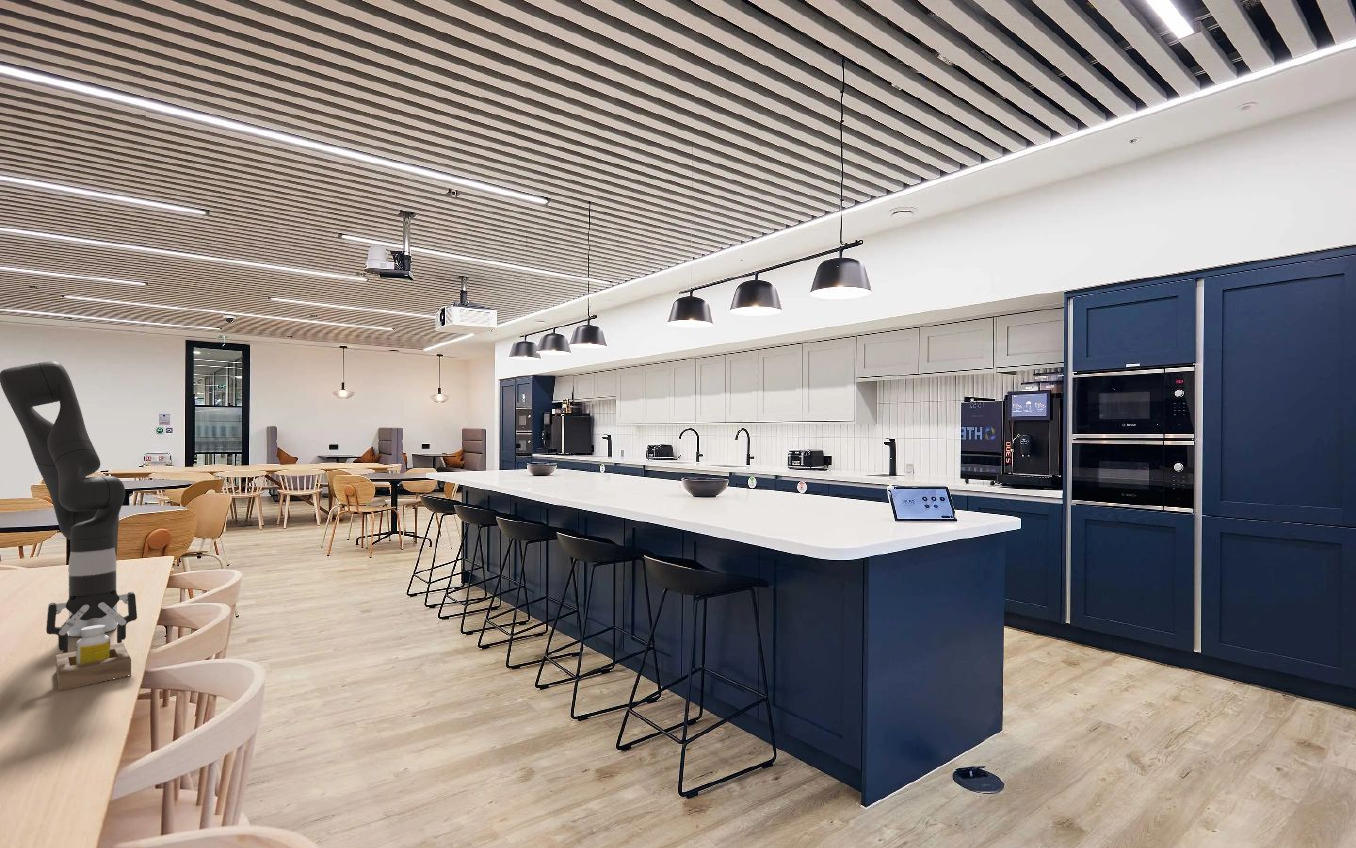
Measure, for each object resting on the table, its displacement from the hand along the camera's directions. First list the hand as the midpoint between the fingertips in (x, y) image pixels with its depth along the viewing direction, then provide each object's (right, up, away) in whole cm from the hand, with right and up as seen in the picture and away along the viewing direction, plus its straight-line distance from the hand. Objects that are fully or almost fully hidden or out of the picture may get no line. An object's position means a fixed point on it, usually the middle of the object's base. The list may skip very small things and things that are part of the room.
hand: (93, 647), depth 138 cm
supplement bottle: (0, -6, 0) cm, 6 cm away
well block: (0, -6, 0) cm, 6 cm away
